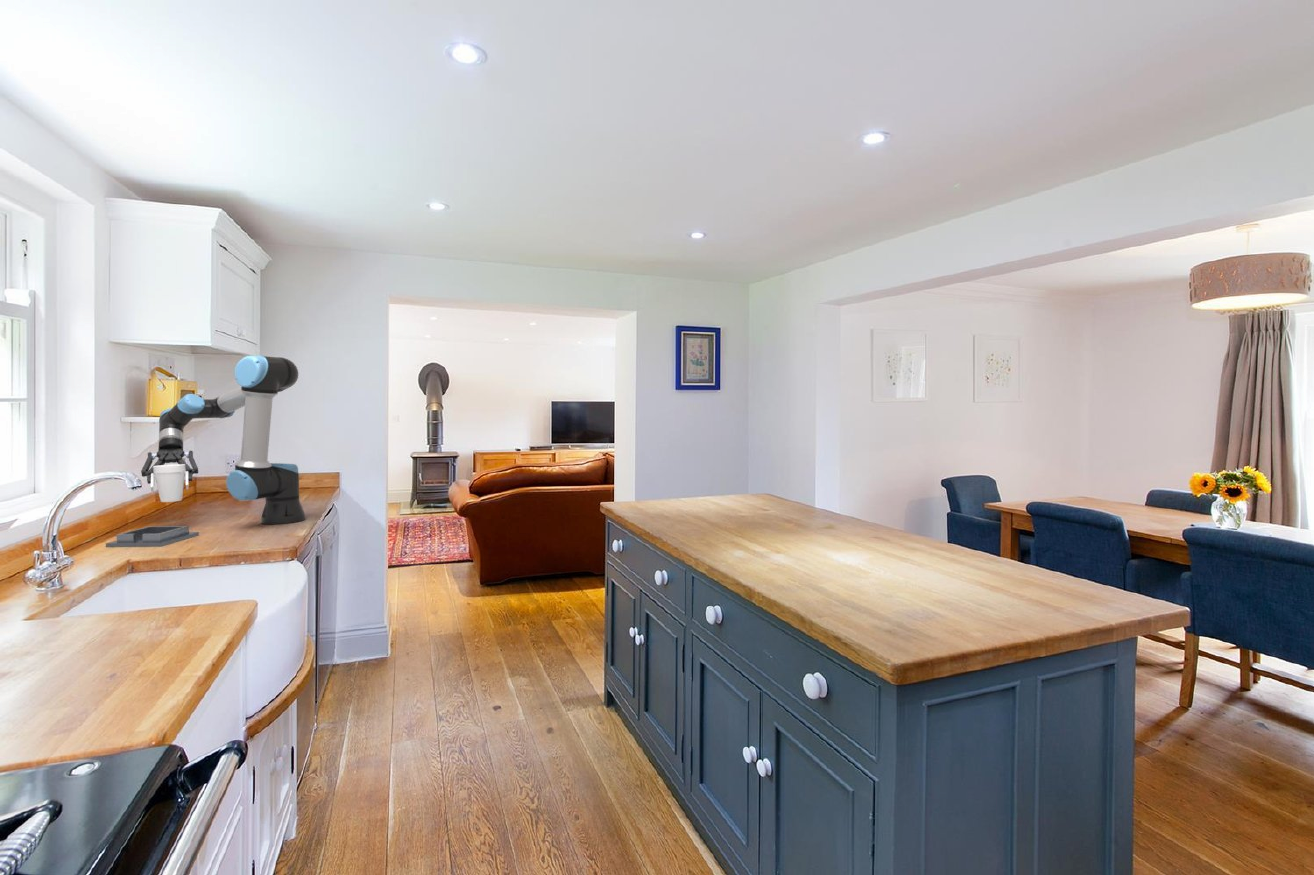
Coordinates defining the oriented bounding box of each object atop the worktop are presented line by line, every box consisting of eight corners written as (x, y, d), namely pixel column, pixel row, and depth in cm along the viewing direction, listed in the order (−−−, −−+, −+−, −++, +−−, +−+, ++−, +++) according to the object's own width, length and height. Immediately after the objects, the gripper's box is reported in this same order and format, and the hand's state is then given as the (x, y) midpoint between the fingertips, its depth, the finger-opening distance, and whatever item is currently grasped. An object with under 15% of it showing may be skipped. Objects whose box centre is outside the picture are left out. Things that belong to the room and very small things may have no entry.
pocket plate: (147, 535, 232) (147, 525, 232) (198, 535, 232) (198, 524, 232) (105, 547, 214) (105, 535, 214) (161, 546, 214) (160, 535, 214)
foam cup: (193, 499, 242) (191, 464, 241) (167, 503, 233) (165, 466, 233) (175, 498, 245) (173, 464, 244) (149, 502, 236) (146, 466, 236)
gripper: (206, 447, 257) (207, 492, 245) (135, 450, 245) (132, 497, 233) (205, 434, 252) (206, 479, 240) (132, 437, 240) (129, 484, 228)
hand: (169, 488), depth 236 cm, fingers closed on foam cup, 9 cm apart
